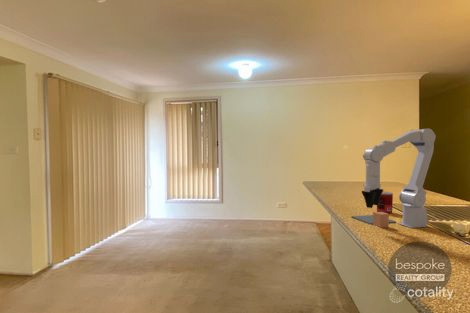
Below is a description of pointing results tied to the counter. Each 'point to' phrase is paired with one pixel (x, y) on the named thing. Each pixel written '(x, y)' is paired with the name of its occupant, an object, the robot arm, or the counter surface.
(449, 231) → the counter surface
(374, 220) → the block
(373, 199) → the robot arm
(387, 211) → the canned food
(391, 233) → the counter surface
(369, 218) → the mat
